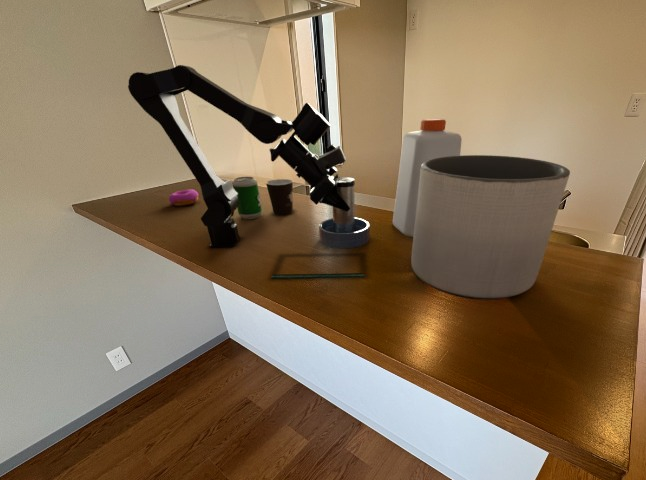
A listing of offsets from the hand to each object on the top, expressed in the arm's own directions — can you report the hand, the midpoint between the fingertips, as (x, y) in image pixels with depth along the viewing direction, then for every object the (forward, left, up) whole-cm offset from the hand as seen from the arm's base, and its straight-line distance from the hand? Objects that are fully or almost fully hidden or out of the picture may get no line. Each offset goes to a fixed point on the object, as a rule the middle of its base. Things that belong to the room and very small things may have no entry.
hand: (348, 206), depth 82 cm
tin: (-1, 0, -6) cm, 7 cm away
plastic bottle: (+21, +8, -9) cm, 24 cm away
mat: (-7, -15, -9) cm, 19 cm away
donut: (-62, +40, -9) cm, 74 cm away
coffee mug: (-22, +28, -9) cm, 37 cm away
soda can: (-33, +23, -9) cm, 41 cm away
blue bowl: (-1, 0, -9) cm, 9 cm away
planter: (+26, -20, -9) cm, 34 cm away
